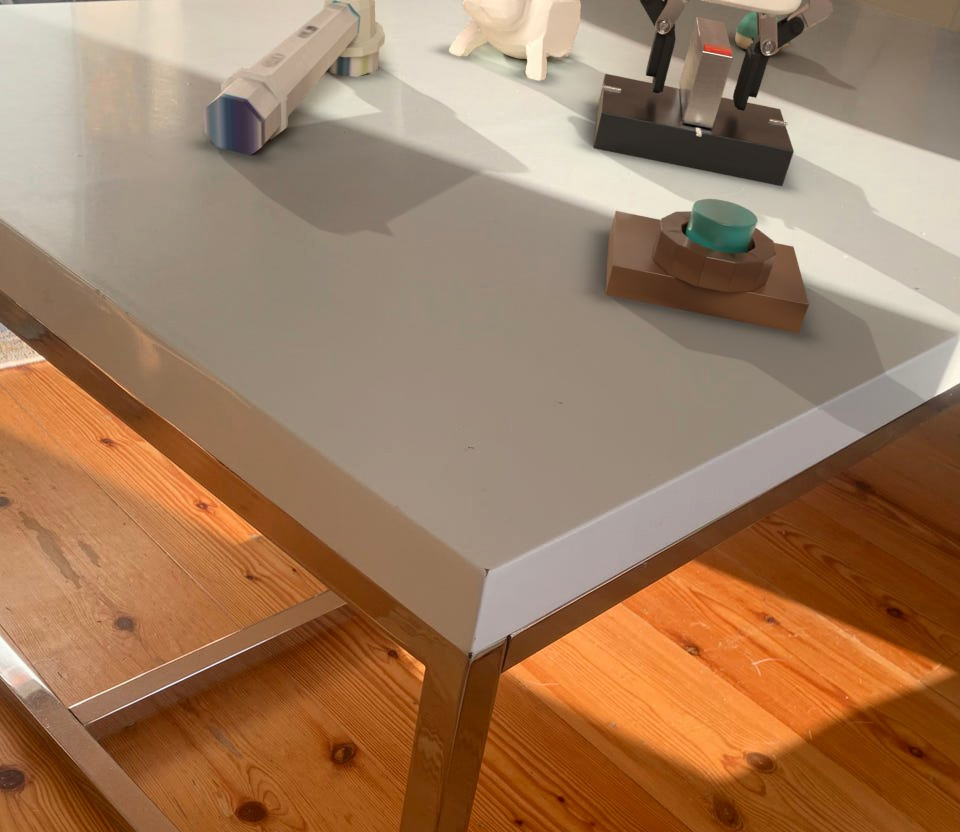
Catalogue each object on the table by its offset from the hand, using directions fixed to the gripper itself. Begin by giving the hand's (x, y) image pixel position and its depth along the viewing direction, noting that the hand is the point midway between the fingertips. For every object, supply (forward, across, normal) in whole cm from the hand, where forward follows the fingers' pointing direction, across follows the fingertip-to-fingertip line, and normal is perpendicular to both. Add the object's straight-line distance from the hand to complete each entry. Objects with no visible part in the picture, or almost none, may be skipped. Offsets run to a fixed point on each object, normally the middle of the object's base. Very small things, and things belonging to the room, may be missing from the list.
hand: (698, 93), depth 84 cm
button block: (+4, 0, -26) cm, 26 cm away
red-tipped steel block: (+1, 0, 0) cm, 1 cm away
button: (0, 0, -28) cm, 28 cm away
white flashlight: (+4, -28, -8) cm, 29 cm away
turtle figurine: (+4, +9, +36) cm, 37 cm away
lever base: (+4, 0, -1) cm, 4 cm away
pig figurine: (+4, -15, +12) cm, 20 cm away
